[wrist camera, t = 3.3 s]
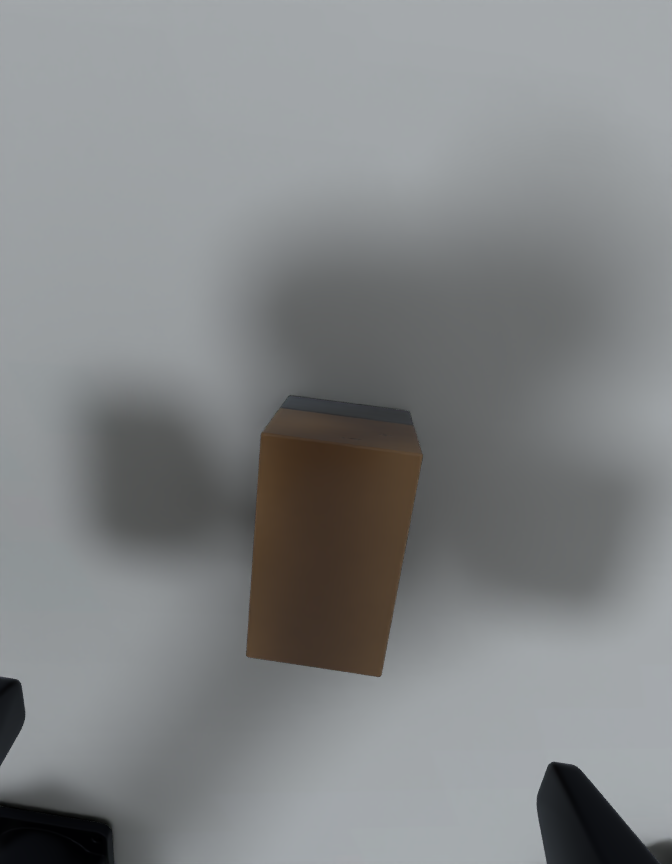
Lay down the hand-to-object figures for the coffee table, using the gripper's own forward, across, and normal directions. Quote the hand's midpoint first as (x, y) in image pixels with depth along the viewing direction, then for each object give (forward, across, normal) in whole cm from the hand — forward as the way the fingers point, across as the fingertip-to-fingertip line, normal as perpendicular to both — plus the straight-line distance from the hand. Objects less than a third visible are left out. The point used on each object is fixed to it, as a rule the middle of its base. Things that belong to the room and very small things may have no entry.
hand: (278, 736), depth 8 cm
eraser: (+9, 0, 0) cm, 9 cm away
